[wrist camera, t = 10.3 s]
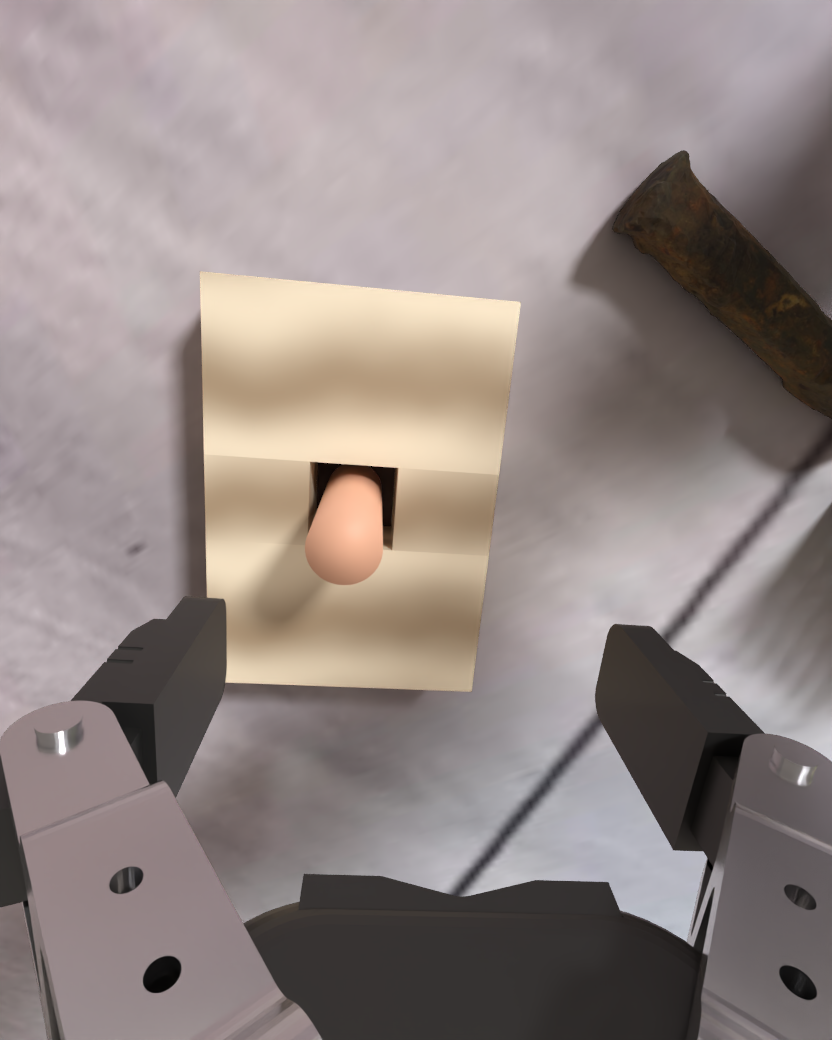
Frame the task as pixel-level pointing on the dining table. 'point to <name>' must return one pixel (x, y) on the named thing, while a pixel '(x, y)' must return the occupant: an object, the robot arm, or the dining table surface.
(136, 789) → the robot arm
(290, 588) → the hole block
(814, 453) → the dining table surface
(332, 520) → the peg
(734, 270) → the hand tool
